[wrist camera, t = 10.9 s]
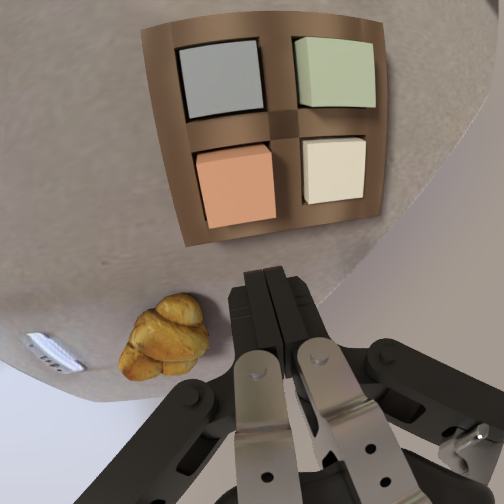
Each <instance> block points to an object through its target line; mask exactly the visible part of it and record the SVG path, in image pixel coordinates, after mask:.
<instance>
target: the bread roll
mask: <svg viewBox="0 0 504 504" xmlns="http://www.w3.org/2000/svg"><path fill="white" fill-rule="evenodd" d="M202 321H203V314H202V311H201V308H200V306H199V304H198V302H197V301H196V300H195V299H194V298H193V297H191V296H189V295H187V294H174V295H170V296H167V297H165V298H164V299H162V301H160V302H159V303H158V305H157V306H156V308H154V309H148V310H147V311H145V312H143V314H141V315H140V316H139V317H138V319H137V320H136V322H135V324H134V329H133V331H132V332H131V334H130V337H129V342H128V343H127V345H126V347H125V349H124V350H123V352H122V354H121V357H120V359H119V367H120V370H121V372H122V373H123V375H124V376H125V377H126V378H128V379H129V380H131V381H144V380H147V379H151V378H153V377H156V376H157V375H159V374H160V373H162V374H164V375H167V376H174V375H182V374H187V373H188V372H189V371H190V370H191V369H192V368H193V367H194V366H195V364H196V363H197V360H198V357H200V356H201V355H203V354H204V353H205V351H206V350H207V347H208V346H209V345H210V344H209V338H208V336H209V334H208V331H207V328H206V326H205V324H204V323H203V322H202Z"/></svg>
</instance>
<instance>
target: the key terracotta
mask: <svg viewBox="0 0 504 504" xmlns="http://www.w3.org/2000/svg"><path fill="white" fill-rule="evenodd" d="M196 166H197V171H198V176H199V181H200V187H201V191H202V196H203V201H204V206H205V211H206V216H207V221H208V225H209V229H211V228H216V227H222V226H228V225H234V224H240V223H246V222H252V221H258V220H264V219H271V218H276V207H275V193H274V180H273V168H272V155H271V152H270V151H269V150H268V148H267V147H266V146H265V145H264V144H263V143H261V144H253V145H246V146H239V147H232V148H225V149H219V150H213V151H208V152H202V153H198V155H197V162H196Z"/></svg>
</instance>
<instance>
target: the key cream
mask: <svg viewBox="0 0 504 504" xmlns="http://www.w3.org/2000/svg"><path fill="white" fill-rule="evenodd" d="M299 142H300V164H301V195H302V196H303V197H304V199H305V200H306V201H307V203H308V204H314V203H322V202H329V201H337V200H345V199H353V198H362V197H363V187H364V173H365V153H366V141H364V140H362V139H360V138H358V137H356V136H354V135H335V136H315V137H301V138H299Z"/></svg>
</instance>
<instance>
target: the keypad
mask: <svg viewBox="0 0 504 504" xmlns="http://www.w3.org/2000/svg"><path fill="white" fill-rule="evenodd" d="M305 37H318V38H332V39H342V40H351V41H358V42H365V43H371V44H373V53H374V68H375V96H376V107H351V106H319V107H311V106H308V105H304V104H300V103H298V92H297V80H296V69H295V58H294V49H293V42H295V41H297V40H300V39H302V38H305ZM141 38H142V46H143V53H144V60H145V67H146V73H147V79H148V85H149V91H150V97H151V102H152V108H153V113H154V118H155V123H156V128H157V133H158V138H159V143H160V147H161V152H162V156H163V161H164V165H165V170H166V174H167V178H168V182H169V186H170V190H171V194H172V198H173V202H174V206H175V210H176V214H177V218H178V221H179V225H180V229H181V232H182V236H183V239H184V243H185V246H186V247H190V246H195V245H201V244H207V243H212V242H218V241H224V240H230V239H236V238H242V237H248V236H253V235H259V234H265V233H272V232H278V231H284V230H290V229H296V228H302V227H309V226H315V225H322V224H328V223H334V222H341V221H348V220H354V219H361V218H368V217H374V216H379V214H380V207H381V199H382V190H383V180H384V170H385V157H386V140H387V67H386V51H385V40H384V30H383V23H380V22H376V21H371V20H366V19H361V18H355V17H349V16H342V15H334V14H325V13H314V12H299V11H253V12H237V13H226V14H217V15H210V16H203V17H196V18H191V19H185V20H180V21H175V22H171V23H166V24H162V25H158V26H154V27H150V28H146V29H143V30H141ZM255 40H256V46H257V54H258V63H259V72H260V81H261V90H262V100H263V108H255V109H246V110H238V111H231V112H224V113H217V114H211V115H205V116H200V117H194V118H190V117H189V111H188V105H187V99H186V92H185V86H184V79H183V73H182V66H181V59H180V52H179V51H180V50H185V49H190V48H196V47H202V46H208V45H215V44H223V43H232V42H242V41H255ZM335 135H354V136H356V137H358V138H360V139H362V140H364V141H366V153H365V173H364V187H363V197H362V198H353V199H345V200H337V201H329V202H322V203H314V204H308V203H307V201H306V200H305V199H304V197H303V196H302V195H301V164H300V142H299V138H301V137H315V136H335ZM261 143H263V144H264V145H265V146H266V147H267V148H268V150H269V151H270V152H271V155H272V168H273V180H274V193H275V207H276V218H271V219H264V220H258V221H252V222H246V223H240V224H234V225H228V226H222V227H216V228H211V229H209V225H208V221H207V216H206V211H205V206H204V201H203V196H202V191H201V187H200V181H199V176H198V171H197V166H196V162H197V155H198V153H202V152H208V151H213V150H219V149H225V148H232V147H239V146H246V145H253V144H261Z"/></svg>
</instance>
